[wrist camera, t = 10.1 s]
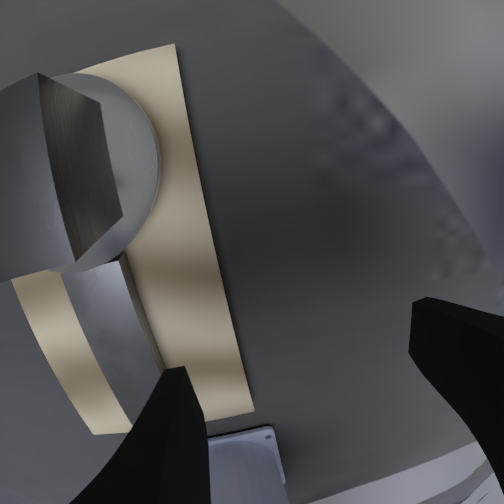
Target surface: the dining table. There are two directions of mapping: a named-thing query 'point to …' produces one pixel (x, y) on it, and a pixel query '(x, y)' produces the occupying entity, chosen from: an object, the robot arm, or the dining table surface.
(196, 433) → the robot arm
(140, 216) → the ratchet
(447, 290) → the dining table surface
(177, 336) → the board
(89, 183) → the charcoal matte cube
